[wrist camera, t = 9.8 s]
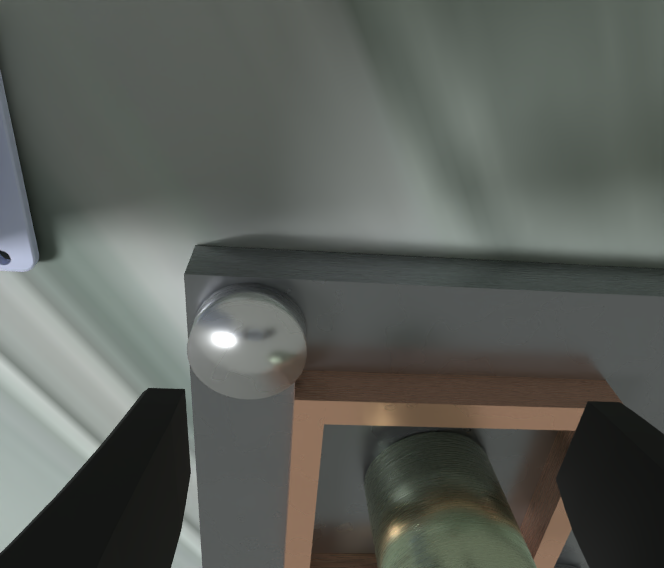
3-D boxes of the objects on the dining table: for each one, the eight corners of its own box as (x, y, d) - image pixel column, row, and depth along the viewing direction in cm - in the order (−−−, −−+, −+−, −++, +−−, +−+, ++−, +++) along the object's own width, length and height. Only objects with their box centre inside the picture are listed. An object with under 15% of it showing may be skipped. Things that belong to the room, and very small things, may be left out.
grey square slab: (211, 571, 27) (199, 647, 24) (195, 245, 18) (173, 300, 15) (559, 572, 28) (590, 643, 25) (703, 271, 19) (777, 326, 16)
